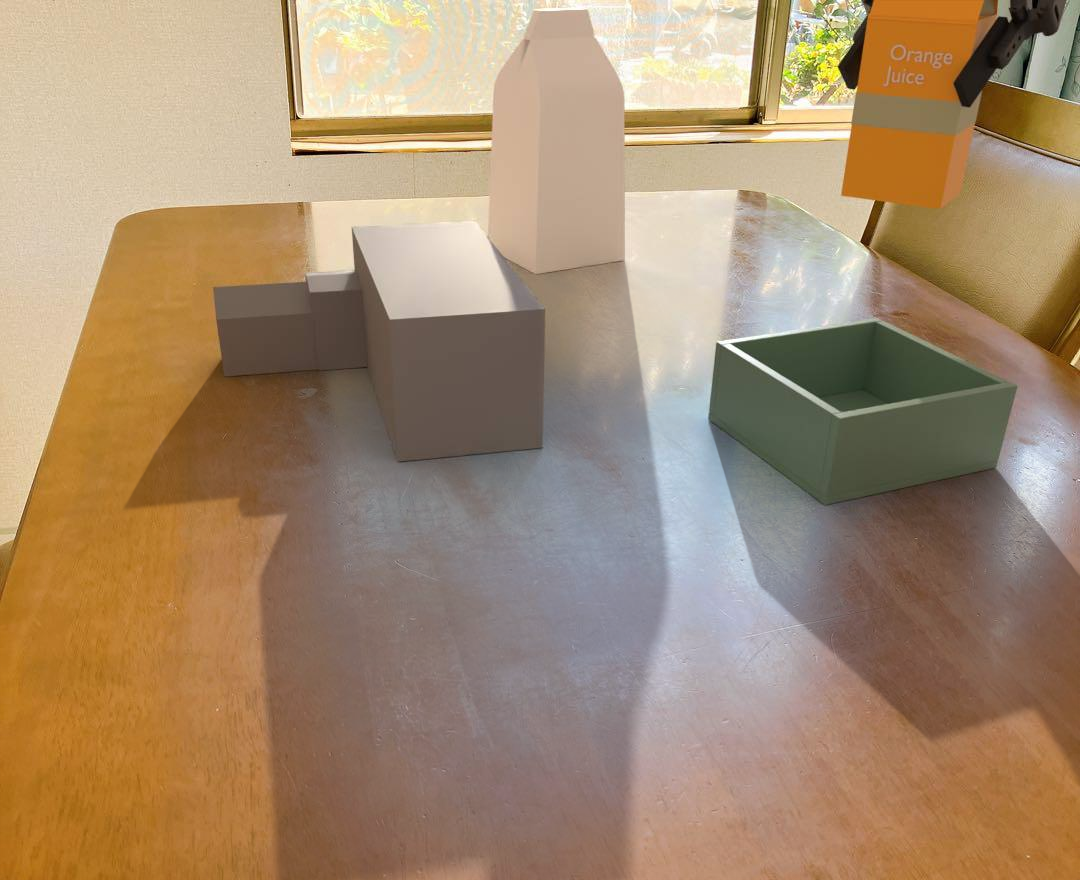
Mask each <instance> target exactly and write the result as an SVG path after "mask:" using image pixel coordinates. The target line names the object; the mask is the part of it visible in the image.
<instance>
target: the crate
mask: <svg viewBox="0 0 1080 880" xmlns="http://www.w3.org/2000/svg"><path fill="white" fill-rule="evenodd" d="M715 342H716V343H715V351H714V360H713V370H712V379H711V389H710V397H709V398H710V399H709V406H708V416H707V419H708V420H709V421H710V422H711V423H713V424H714V425H716V426H717V427H718V428H719V429H721V430H723V432H725V433H726V434H728V435H729V436H730V437H732V438H734V439H735V440H736V441H737V442H739V443H740V444H742V445H743V446H744V447H745V448H747V449H749V450H750V451H751V452H752V453H754V454H755V455H756V456H758V457H759V458H760V459H761V460H763V461H764V462H765V463H767V464H768V465H770V466H771V467H772V468H774V469H775V470H777V471H778V472H779V473H781V474H782V475H784V476H785V477H786V478H788V479H789V480H790V481H792V482H793V483H794V484H795V485H797V486H799V488H801V489H802V490H804V491H805V492H806V493H808V494H809V495H811V496H812V497H813V498H814V499H816V500H817V501H819V502H820V503H821V504H823V505H824V506H828V505H832V504H836V503H841V502H845V501H846V502H847V501H849V500H850V501H851V500H854V499H861V498H863V497H868V496H872V495H877V494H881V493H886V492H891V491H895V490H900V489H904V488H909V487H914V486H919V485H923V484H927V483H933V482H936V481H942V480H947V479H951V478H955V477H956V478H957V477H960V476H964V475H968V474H969V475H970V474H973V473H978V472H983V471H987V470H992V469H996V468H997V466H998V463H999V459H1000V455H1001V451H1002V447H1003V443H1004V441H1005V440H1004V439H1005V436H1006V432H1007V429H1008V425H1009V420H1010V416H1011V413H1012V409H1013V405H1014V401H1015V399H1016V398H1015V397H1016V394H1017V390H1018V385H1017V384H1015V383H1014V382H1011V381H1009V380H1007V379H1005V378H1002V377H1001V376H998V375H996V374H994V373H992V372H991V371H988V370H986V369H984V368H983V367H980V366H978V365H975V364H974V363H971V362H970V361H968V360H965V359H964V358H961V357H959V356H957V355H955V354H953V353H951V352H949V351H947V350H945V349H943V348H940V347H938V346H937V345H934V344H932V343H931V342H928V341H926V340H924V339H922V338H920V337H918V336H916V335H914V334H912V333H909V332H908V331H905V330H903V329H901V328H899V327H898V326H894V325H893V324H891V323H889V322H886V321H884V320H882V319H881V318H879V317H875V318H874V317H873V318H868V319H867V318H866V319H860V320H854V321H847V322H841V323H834V324H833V323H832V324H828V325H820V326H814V327H805V328H799V329H793V330H786V331H780V332H779V331H778V332H771V333H765V334H759V335H752V336H751V335H750V336H745V337H738V338H731V339H725V340H718V341H715Z"/></svg>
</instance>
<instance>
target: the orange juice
mask: <svg viewBox="0 0 1080 880" xmlns="http://www.w3.org/2000/svg"><path fill="white" fill-rule="evenodd" d="M998 3H999V0H874V2H873V5H872V8H871V11H870V14H868V20H867V27H866V33H865V40H864V47H863V53H862V60H861V66H860V73H859V80H858V86H857V87H856V92H855V97H854V102H853V109H852V114H851V115H852V116H851V124H850V125H851V127H850V132H849V140H848V147H847V152H846V153H847V154H846V160H845V166H844V173H843V179H842V185H841V188H842V189H841V193H840V197H846V198H847V197H848V198H854V199H863V200H870V201H876V202H885V203H892V204H899V205H905V206H913V207H922V208H928V209H936V210H942V209H943V208H944V207H945V206H947V205H948V204H949V203H950V202H951V201H952V200H953V199H955V198H956V197H957V196H958V195H959V194H961V192H962V188H963V183H964V178H965V172H966V168H967V163H968V158H969V154H970V148H971V146H972V145H971V144H972V139H973V134H974V129H975V125H976V123H977V118H978V113H979V108H980V104H981V103H980V102H981V98H982V94H983V90H982V91H981V92H980V94H979V95H978V97H977V98H976V100H975V101H974V103H973V104H972V105H971V107H970V108H969V107H963V106H962V105H961V103H960V100H959V97H958V95H957V92H956V89H955V87H954V84H953V82H954V81H955V79H956V78H957V77H958V75H959V74H960V72H961V71H962V69H963V68H964V66H965V65H966V63H967V62H968V60H969V59H970V57H971V56H972V55H973V53H974V52H975V50H976V49H977V47H978V46H979V44H980V43H981V41H982V40H983V38H984V37H985V36H986V34H987V33H988V31H989V30H990V28H991V27H992V25H993V24H994V22H995V21H996V19H997V18H998V7H999V5H998Z"/></svg>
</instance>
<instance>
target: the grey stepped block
mask: <svg viewBox="0 0 1080 880" xmlns="http://www.w3.org/2000/svg"><path fill="white" fill-rule="evenodd" d="M351 237H352V238H351V239H352V252H353V267H354V269H347V270H328V271H327V270H326V271H312V272H311V271H309V272H304V273H305V281H295V282H280V283H279V282H278V283H261V284H243V285H228V286H213V287H212V291H213V300H214V301H213V303H214V311H215V320H216V328H217V334H218V335H217V336H218V343H219V350H220V356H221V364H222V371H223V377H237V376H239V377H240V376H249V375H251V376H252V375H263V374H264V375H265V374H277V373H289V372H302V371H303V372H304V371H317V370H318V371H332V370H345V369H346V370H347V369H358V368H367V371H368V374H369V377H370V380H371V383H372V387H373V389H374V393H375V395H376V399H377V402H378V404H379V408H380V411H381V414H382V417H383V420H384V424H385V427H386V430H387V432H388V436H389V439H390V442H391V445H392V448H393V452H394V454H395V457H396V461H397V462H398V463H399V462H408V461H419V460H430V459H438V458H439V459H440V458H450V457H459V456H461V457H462V456H470V455H480V454H482V455H483V454H493V453H501V452H513V451H521V450H531V449H543V445H544V444H543V443H544V442H543V438H544V436H543V435H544V392H545V388H544V387H545V345H546V344H545V343H546V342H545V341H546V339H545V338H546V334H545V333H546V308H545V307H544V305H543V304H542V303H541V302H540V300H539V299H538V298H537V297H536V296H535V294H534V293H533V291H531V289H530V288H529V287H528V286H527V284H526V283H525V282H524V281H523V279H522V278H521V277H520V275H519V274H518V273H517V272H516V271H515V269H514V268H513V267H512V265H511V264H510V263H509V262H508V259H506V258H504V257H503V255H502V254H501V253H500V252H499V250H498V249H497V248H496V247H495V245H494V244H493V243H492V242H491V240H490V239H489V238H488V234H486V233H485V232H484V230H483V229H482V228H481V226H480V225H479V224H478V223H477V222H476V220H457V221H437V222H417V223H416V222H415V223H414V222H413V223H398V224H397V223H395V224H374V225H356V226H355V225H354V226H351Z"/></svg>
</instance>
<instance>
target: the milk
mask: <svg viewBox="0 0 1080 880" xmlns="http://www.w3.org/2000/svg"><path fill="white" fill-rule="evenodd" d="M625 118H626V117H625V91H624V87H623V84H622V82H621V79H620V77H619V75H618V73H617V71H616V69H615V68H614V66H613V65H612V63H611V61H610V60H609V58H608V56H607V55H606V53H605V51H604V49H603V47H602V46H601V44H600V42H599V41H598V39H597V38H596V37H595V31H594V27H593V23H592V20H591V15H590V12H589V9H588V8H584V7H567V8H565V7H564V8H563V7H562V8H537V9H535V8H534V9H533V10H532V13H531V16H530V18H529V21H528V23H527V27H526V28H525V32H524V35H523V39H521V41H520V42H519V43H518V45H517V46H516V47H515V49H514V50H513V52H512V53H511V54H510V56H509V57H508V59H507V60H506V62H505V63H504V65H503V66H502V67H501V69H500V70H499V72H498V73H497V76H496V78H495V81H494V85H493V96H492V119H491V120H492V121H491V146H490V147H491V148H490V176H489V198H488V199H489V200H488V201H489V202H488V223H487V237H488V238H489V239H490V240H491V242H492V243H493V244H494V245H495V247H496V248H497V249H498V250H499V252H500V253H501V254H502V255H503V257H504V258H505V259H506V260H507V261H510V262H512V263H513V264H516V265H517V266H519V267H521V268H523V269H525V270H527V271H529V272H531V273H532V274H534V275H540V274H546V273H553V272H559V271H565V270H571V269H577V268H584V267H585V268H586V267H590V266H596V265H597V266H598V265H602V264H603V265H604V264H610V263H615V262H622V261H626V177H625V176H626V174H625V173H626V168H625V167H626V165H625V163H626V161H625V160H626V159H625V158H626V154H625V153H626V152H625V151H626V150H625V149H626V147H625V146H626V145H625V144H626V143H625V141H626V138H625V136H626V135H625V132H626V131H625V130H626V129H625V122H626V121H625Z"/></svg>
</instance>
